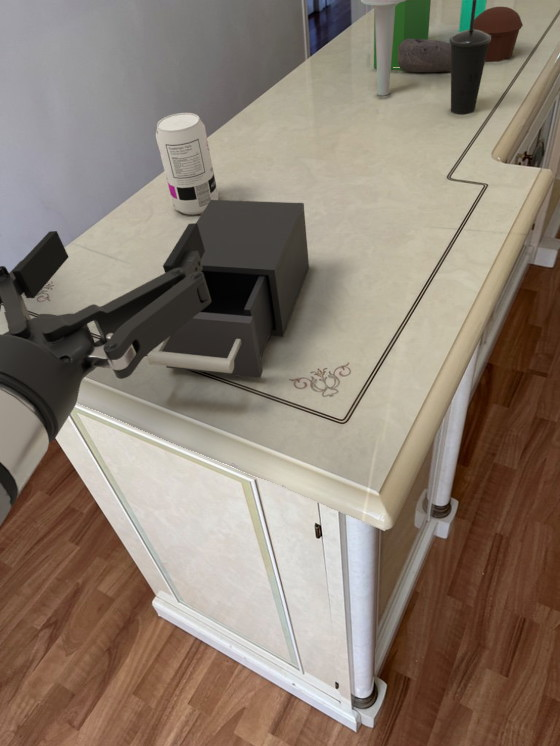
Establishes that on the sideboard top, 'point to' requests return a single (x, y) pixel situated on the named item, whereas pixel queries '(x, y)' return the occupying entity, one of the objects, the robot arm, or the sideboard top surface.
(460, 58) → the drinking cup
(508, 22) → the muffin
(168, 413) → the sideboard top surface
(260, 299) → the open drawer with handle
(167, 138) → the supplement can
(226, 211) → the drawer cabinet
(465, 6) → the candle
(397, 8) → the hardback book
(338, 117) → the sideboard top surface
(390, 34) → the novelty light stick
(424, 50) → the perforated stone tool
